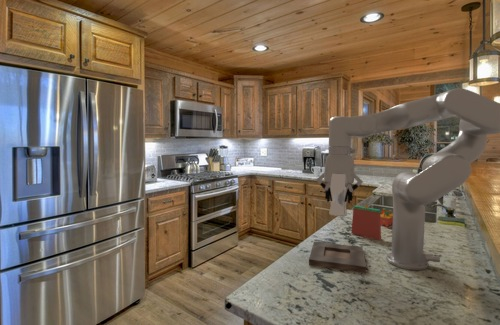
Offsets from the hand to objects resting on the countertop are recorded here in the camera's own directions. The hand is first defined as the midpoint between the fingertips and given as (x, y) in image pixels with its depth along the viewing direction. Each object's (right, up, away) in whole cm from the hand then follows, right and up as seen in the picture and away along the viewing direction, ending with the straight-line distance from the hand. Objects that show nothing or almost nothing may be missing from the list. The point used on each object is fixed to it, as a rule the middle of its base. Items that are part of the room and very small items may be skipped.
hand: (338, 201), depth 99 cm
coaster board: (0, -21, 0) cm, 21 cm away
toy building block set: (+32, -19, +36) cm, 52 cm away
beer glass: (0, -5, 0) cm, 5 cm away
